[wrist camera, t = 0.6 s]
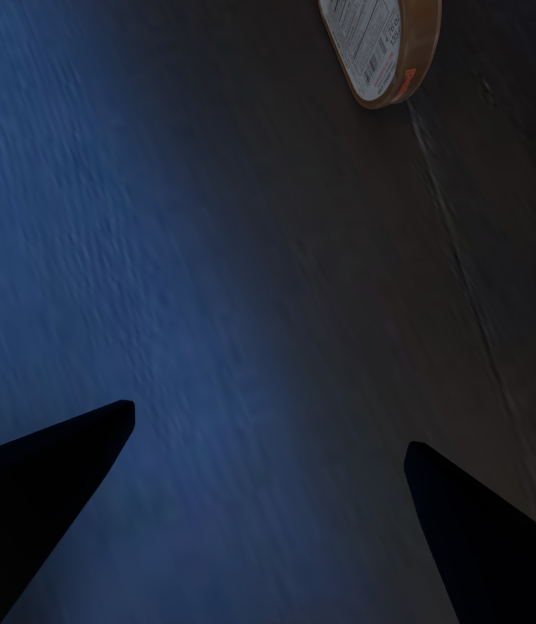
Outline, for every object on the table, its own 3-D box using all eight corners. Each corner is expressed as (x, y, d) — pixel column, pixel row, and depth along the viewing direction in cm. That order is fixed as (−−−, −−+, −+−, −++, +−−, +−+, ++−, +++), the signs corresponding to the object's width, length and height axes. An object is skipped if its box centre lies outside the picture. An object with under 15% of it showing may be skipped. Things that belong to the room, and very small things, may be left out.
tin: (391, 125, 25) (470, 23, 16) (361, 135, 24) (427, 35, 16) (329, -23, 25) (378, -200, 16) (299, -16, 24) (333, -194, 16)
